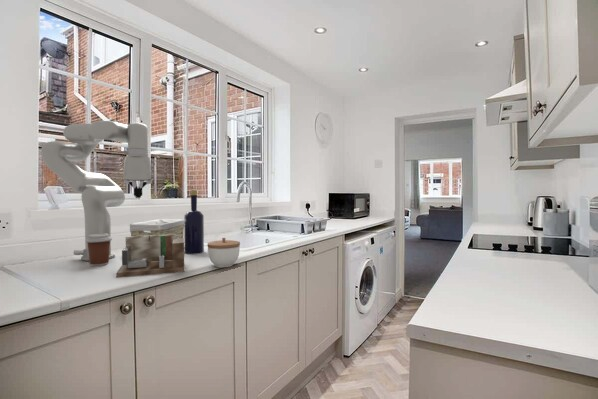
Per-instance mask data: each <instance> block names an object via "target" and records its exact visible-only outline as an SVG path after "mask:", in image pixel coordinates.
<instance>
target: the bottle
mask: <svg viewBox="0 0 598 399" xmlns="http://www.w3.org/2000/svg"><path fill="white" fill-rule="evenodd" d="M189 196H190V211H187V212H186V213H185V214H184V216H183V217H184V219H183V220H184V232H183V233H184V235H183V238H184V254H186V255H199V254H202V253H205V246H204V245H205V238H204V237H205V235H204V234H205V232H204V230H205V229H204V228H205V226H204V223H205V222H204V218H205V217H204V214H203V212H201V211H199V210H198V206H197V204H198V190H197V189H196V190H193V189H191V190H190V195H189Z"/></svg>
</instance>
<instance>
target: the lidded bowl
mask: <svg viewBox="0 0 598 399" xmlns="http://www.w3.org/2000/svg"><path fill="white" fill-rule="evenodd" d="M240 245H241V243H240V241H238V240H233V239H232V240H231V239H226V237H222V238H221V239H220V240H214V241H209V242H207V254H208V259H209V261H210V262H211V263H212V264H213V265H214V267H216V268H229V267H232V266H233V265H234V264H235V263H236V262H237V260H238V258H239V256H240V249H241V248H240Z"/></svg>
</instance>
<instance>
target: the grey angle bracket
mask: <svg viewBox="0 0 598 399" xmlns="http://www.w3.org/2000/svg"><path fill="white" fill-rule="evenodd" d="M147 264H148V258H138V259H131V246H126V245H125V246H124V248H123V249H122V250H121V266H122V265H128V268H140V267H147Z"/></svg>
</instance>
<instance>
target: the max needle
mask: <svg viewBox="0 0 598 399" xmlns="http://www.w3.org/2000/svg"><path fill="white" fill-rule="evenodd" d="M159 268H164V256H162V241H161V256H159Z"/></svg>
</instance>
